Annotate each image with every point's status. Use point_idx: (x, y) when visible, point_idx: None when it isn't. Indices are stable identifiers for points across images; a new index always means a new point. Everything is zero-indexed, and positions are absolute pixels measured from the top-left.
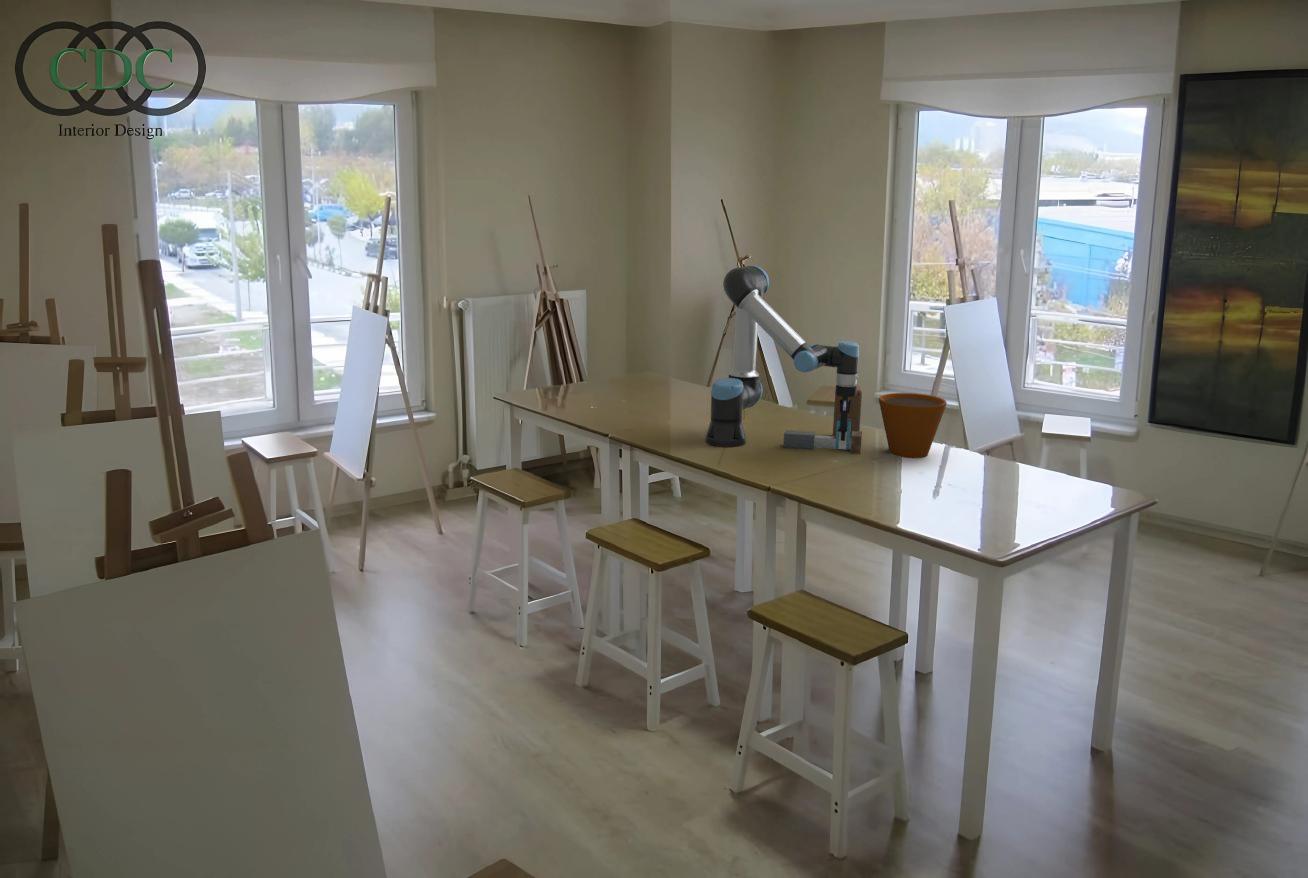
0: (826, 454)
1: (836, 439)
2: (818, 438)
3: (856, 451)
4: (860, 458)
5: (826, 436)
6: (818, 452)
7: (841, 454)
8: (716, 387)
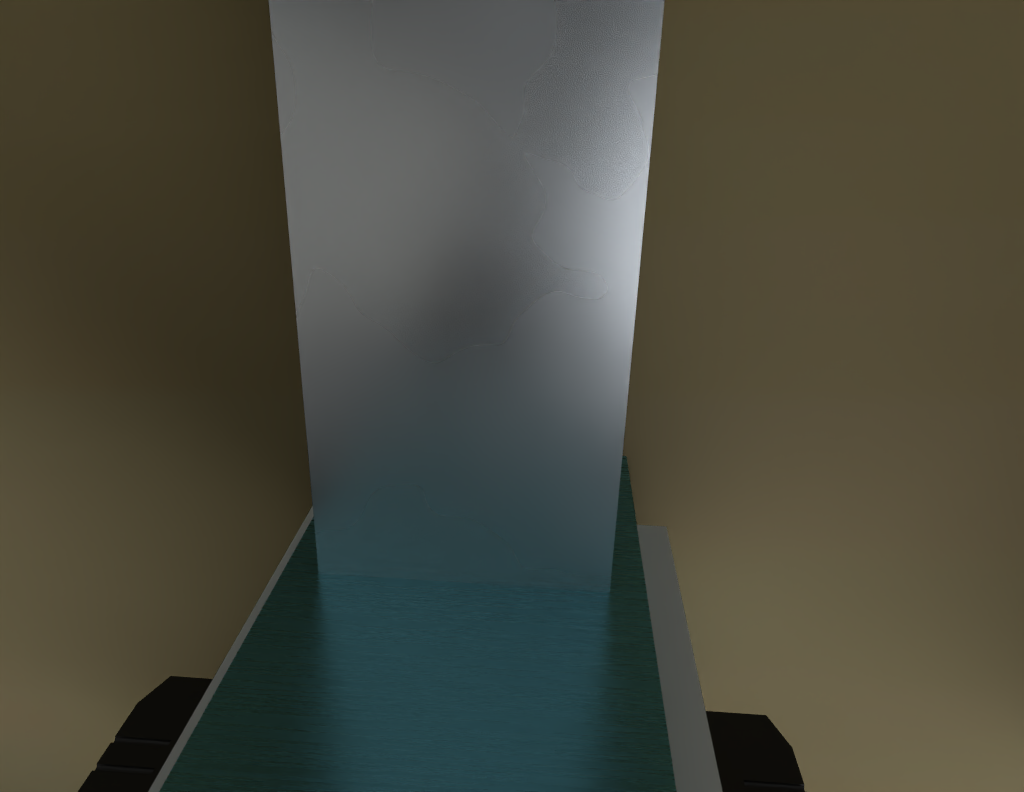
0: (28, 246)
1: (284, 581)
2: (277, 8)
3: None
4: (45, 766)
5: (552, 306)
6: (119, 54)
7: (162, 522)
8: None
